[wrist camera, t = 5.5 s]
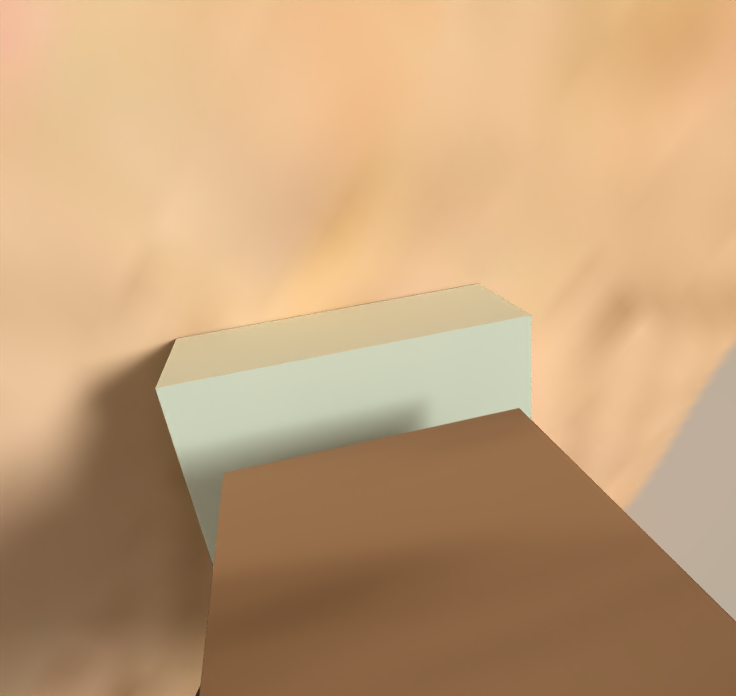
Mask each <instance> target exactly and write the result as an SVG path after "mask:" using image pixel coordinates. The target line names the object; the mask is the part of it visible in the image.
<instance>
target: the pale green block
mask: <svg viewBox="0 0 736 696" xmlns="http://www.w3.org/2000/svg"><path fill="white" fill-rule="evenodd" d="M155 389H156V392H157V395H158V398H159V401H160V405H161V408H162V411H163V414H164V417H165V420H166V423H167V426H168V429H169V432H170V435H171V438H172V441H173V445H174V448H175V451H176V454H177V457H178V460H179V463H180V466H181V469H182V472H183V475H184V478H185V481H186V485H187V488H188V491H189V494H190V497H191V500H192V503H193V506H194V509H195V512H196V515H197V518H198V521H199V525H200V528H201V531H202V534H203V537H204V540H205V543H206V546H207V549H208V552H209V555H210V558H211V561H212V565H214V556H215V546H216V537H217V528H218V518H219V509H220V500H221V490H222V481H223V473H226V472H230V471H235V470H239V469H244V468H248V467H253V466H257V465H262V464H267V463H271V462H276V461H280V460H285V459H289V458H294V457H298V456H303V455H307V454H312V453H317V452H321V451H326V450H330V449H335V448H339V447H344V446H348V445H353V444H357V443H362V442H366V441H371V440H376V439H380V438H385V437H389V436H394V435H398V434H403V433H407V432H412V431H416V430H421V429H425V428H430V427H435V426H439V425H444V424H448V423H453V422H457V421H462V420H466V419H471V418H475V417H480V416H485V415H489V414H494V413H498V412H503V411H507V410H512V409H516V408H520V409H521V410H522V411H523V412H524V413H525V414H526V415H527V416H528V417H529V418H530V419H531V315H530V314H528V313H527V312H525V311H524V310H522V309H520V308H519V307H517V306H515V305H514V304H512V303H510V302H509V301H507V300H505V299H504V298H502V297H500V296H499V295H497V294H495V293H494V292H492V291H490V290H489V289H487V288H486V287H484V286H482V285H481V284H474V285H468V286H463V287H457V288H452V289H446V290H441V291H435V292H430V293H424V294H419V295H413V296H408V297H402V298H397V299H391V300H386V301H380V302H375V303H369V304H364V305H358V306H353V307H347V308H342V309H336V310H331V311H325V312H320V313H314V314H309V315H303V316H298V317H292V318H287V319H281V320H276V321H270V322H265V323H259V324H254V325H248V326H243V327H238V328H232V329H227V330H221V331H216V332H210V333H205V334H199V335H194V336H188V337H183V338H177V339H176V341H175V343H174V346H173V348H172V350H171V353H170V355H169V357H168V360H167V362H166V364H165V367H164V369H163V371H162V374H161V376H160V378H159V381H158V383H157V385H156V388H155Z"/></svg>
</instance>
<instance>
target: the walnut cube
mask: <svg viewBox="0 0 736 696" xmlns="http://www.w3.org/2000/svg"><path fill="white" fill-rule="evenodd" d="M199 696H736V622H735V620H734V619H733V618H732V617H731V616H730V615H729V614H728V613H727V612H725V611H724V609H722V608H721V607H720V606H719V605H718V604H717V603H716V602H715V601H714V600H713V599H712V598H711V597H710V596H709V595H708V594H707V593H706V592H705V591H704V590H703V589H702V588H701V587H700V586H699V585H698V584H697V583H696V582H695V581H694V580H693V579H692V578H691V577H690V576H689V575H688V574H687V573H686V572H685V571H684V570H683V569H682V568H681V567H680V566H679V565H678V564H677V563H676V562H675V561H674V560H673V559H672V558H671V557H670V556H669V555H668V554H667V553H666V552H665V551H664V550H663V549H661V547H660V546H659V545H657V543H655V541H654V540H653V539H652V538H651V537H649V536H648V535H647V534H646V533H645V532H644V531H643V530H642V529H641V528H640V527H639V526H638V525H637V524H636V523H635V522H634V521H633V520H632V519H631V518H630V517H629V516H628V515H627V514H626V513H625V512H624V511H623V510H622V509H621V508H620V507H619V506H618V505H617V504H616V503H615V502H614V501H613V500H612V499H611V498H610V497H609V496H608V495H607V494H606V493H605V492H604V491H603V490H602V489H601V488H600V487H599V486H598V485H597V484H596V483H595V482H594V481H593V480H592V479H591V478H590V477H589V476H588V475H587V474H586V473H585V472H584V471H583V470H582V469H581V468H580V467H579V466H577V465H576V464H575V463H574V462H573V461H572V460H571V459H570V458H569V457H568V456H567V455H566V454H565V453H564V452H563V451H562V450H561V449H560V448H559V447H558V446H557V445H556V444H555V443H554V442H553V441H552V440H551V439H550V438H549V437H548V436H547V435H546V434H545V433H544V432H543V431H542V430H541V429H540V428H539V427H538V426H537V425H536V424H535V423H534V422H533V421H532V420H531V419H530V418H529V417H528V416H527V415H526V414H525V413H524V412H523V411H522V410H521V409H520V408H516V409H512V410H507V411H503V412H498V413H494V414H489V415H485V416H480V417H475V418H471V419H466V420H462V421H457V422H453V423H448V424H444V425H439V426H435V427H430V428H425V429H421V430H416V431H412V432H407V433H403V434H398V435H394V436H389V437H385V438H380V439H376V440H371V441H366V442H362V443H357V444H353V445H348V446H344V447H339V448H335V449H330V450H326V451H321V452H317V453H312V454H307V455H303V456H298V457H294V458H289V459H285V460H280V461H276V462H271V463H267V464H262V465H257V466H253V467H248V468H244V469H239V470H235V471H230V472H226V473H223V481H222V490H221V500H220V509H219V518H218V528H217V537H216V546H215V556H214V565H213V574H212V584H211V593H210V602H209V611H208V621H207V630H206V639H205V649H204V658H203V667H202V677H201V686H200V695H199Z"/></svg>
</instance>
